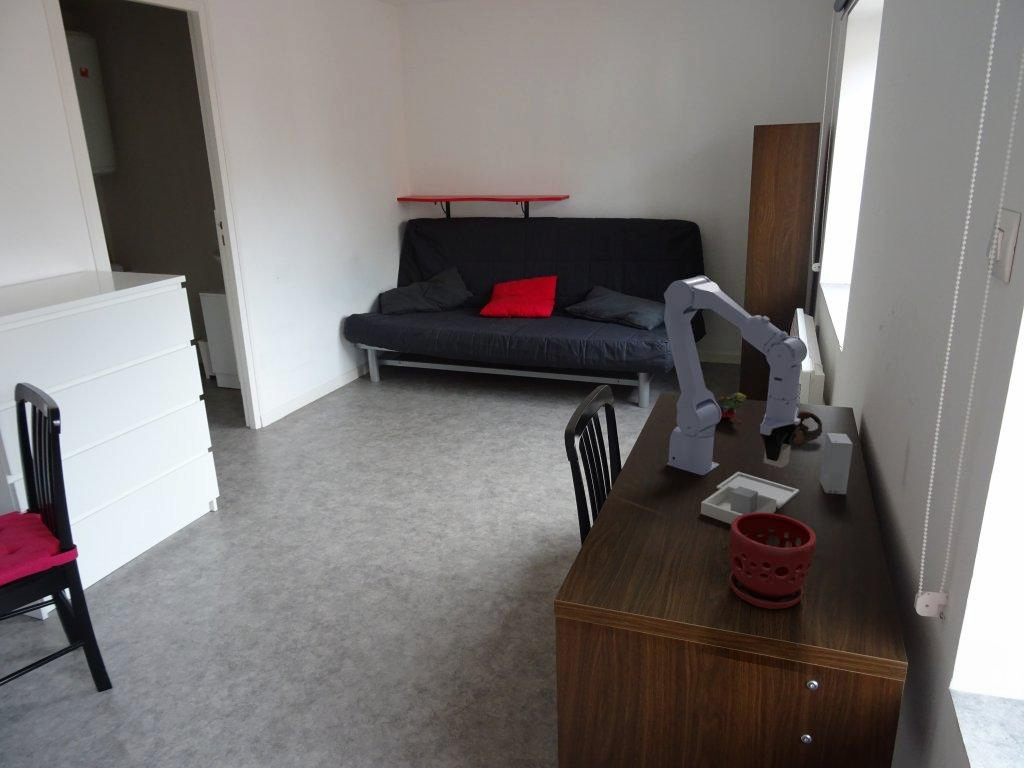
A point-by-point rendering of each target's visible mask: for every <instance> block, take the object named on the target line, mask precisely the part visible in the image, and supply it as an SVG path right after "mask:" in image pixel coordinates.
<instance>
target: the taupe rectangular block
mask: <svg viewBox="0 0 1024 768" xmlns="http://www.w3.org/2000/svg"><path fill="white" fill-rule="evenodd" d="M791 447H792V445H790V444H789V445H787V444H784V443H783V444H782V447H781V451H780V455H779V458H778V460H777V461H773V460H769V459H767V457H766V451H765V450H764V455H763V464H767V465H770V466H774V467H778V468H780V469H781V468H782V469H783V468H784V467H785V466H787V465H788V464H789V463H790V458H791V457H790V454H791Z"/></svg>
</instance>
